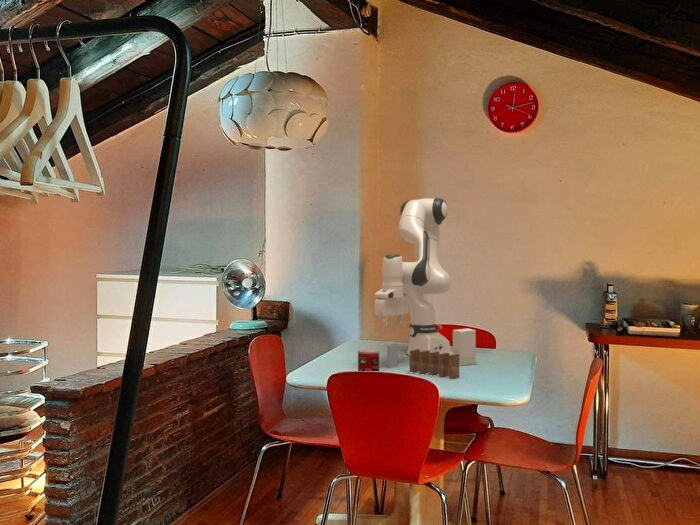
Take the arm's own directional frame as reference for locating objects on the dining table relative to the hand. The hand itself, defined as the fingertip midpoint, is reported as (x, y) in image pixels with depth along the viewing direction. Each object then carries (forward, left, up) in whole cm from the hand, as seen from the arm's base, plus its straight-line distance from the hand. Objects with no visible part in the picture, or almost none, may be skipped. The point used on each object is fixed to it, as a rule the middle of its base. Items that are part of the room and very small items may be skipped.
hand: (392, 326), depth 297 cm
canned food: (+21, +18, -17) cm, 32 cm away
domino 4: (-6, +23, -17) cm, 29 cm away
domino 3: (-4, +18, -17) cm, 25 cm away
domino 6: (-10, +31, -17) cm, 36 cm away
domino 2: (-2, +14, -17) cm, 22 cm away
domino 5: (-8, +27, -17) cm, 33 cm away
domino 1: (0, 0, -17) cm, 17 cm away
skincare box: (-30, +9, -17) cm, 36 cm away
